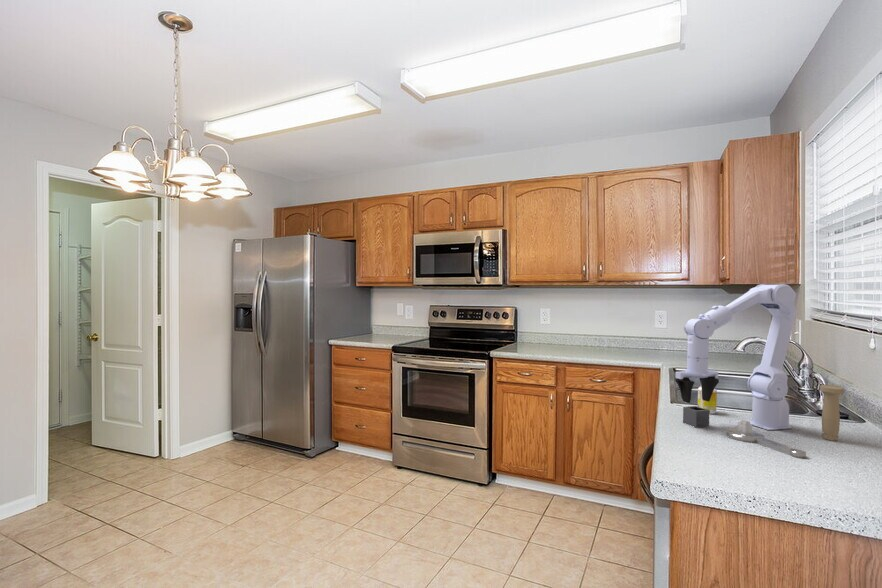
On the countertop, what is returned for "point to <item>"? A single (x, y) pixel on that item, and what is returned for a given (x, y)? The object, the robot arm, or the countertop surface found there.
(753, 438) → the ratchet
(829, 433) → the handle
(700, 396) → the supplement bottle
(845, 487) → the countertop surface
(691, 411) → the square metal tube
